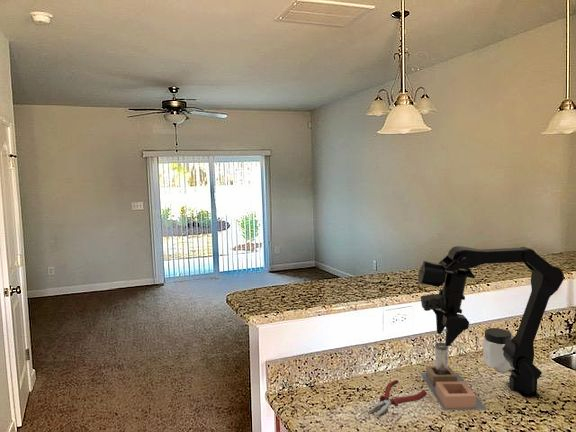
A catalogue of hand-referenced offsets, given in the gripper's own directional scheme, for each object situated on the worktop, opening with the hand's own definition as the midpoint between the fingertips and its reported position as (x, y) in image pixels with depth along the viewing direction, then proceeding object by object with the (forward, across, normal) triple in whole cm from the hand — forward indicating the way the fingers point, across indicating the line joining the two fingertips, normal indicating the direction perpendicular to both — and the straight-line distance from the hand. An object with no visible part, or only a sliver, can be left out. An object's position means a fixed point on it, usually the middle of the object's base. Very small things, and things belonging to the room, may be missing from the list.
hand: (442, 339), depth 131 cm
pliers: (+19, +6, -13) cm, 24 cm away
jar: (+12, -17, +25) cm, 33 cm away
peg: (+15, -4, +4) cm, 16 cm away
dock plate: (+15, +1, +5) cm, 16 cm away
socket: (+14, +8, +4) cm, 17 cm away
